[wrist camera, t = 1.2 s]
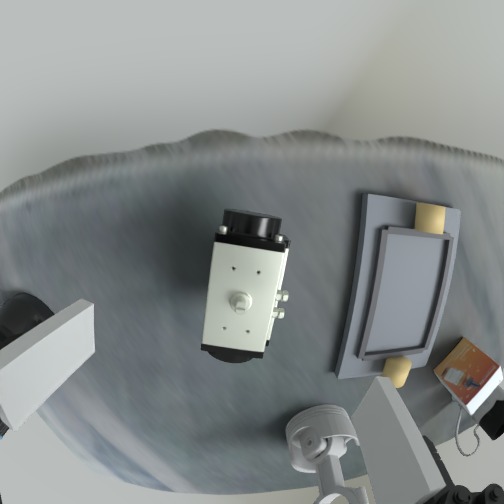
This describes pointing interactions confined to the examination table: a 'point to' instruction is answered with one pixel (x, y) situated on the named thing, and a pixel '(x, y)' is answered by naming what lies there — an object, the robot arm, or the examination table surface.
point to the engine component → (323, 450)
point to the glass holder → (487, 417)
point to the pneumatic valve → (244, 286)
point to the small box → (469, 375)
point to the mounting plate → (397, 287)
